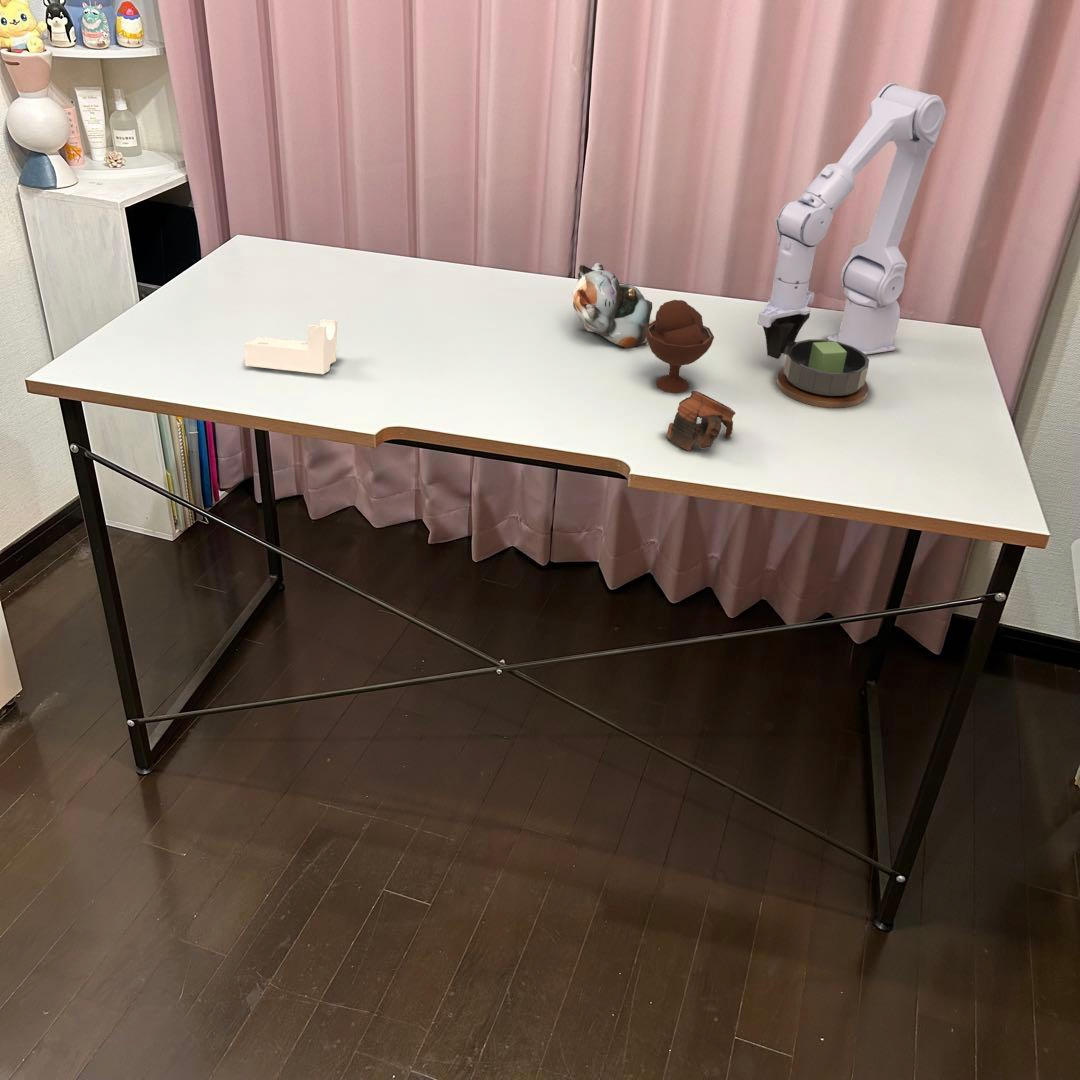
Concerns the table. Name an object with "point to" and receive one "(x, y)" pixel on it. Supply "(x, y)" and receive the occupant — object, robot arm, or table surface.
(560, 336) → the table surface
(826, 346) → the block
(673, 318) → the ice cream bowl
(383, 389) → the table surface
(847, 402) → the lazy susan
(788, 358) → the grey frying pan
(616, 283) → the lucky cat figurine
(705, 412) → the pottery mug
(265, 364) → the bracket
